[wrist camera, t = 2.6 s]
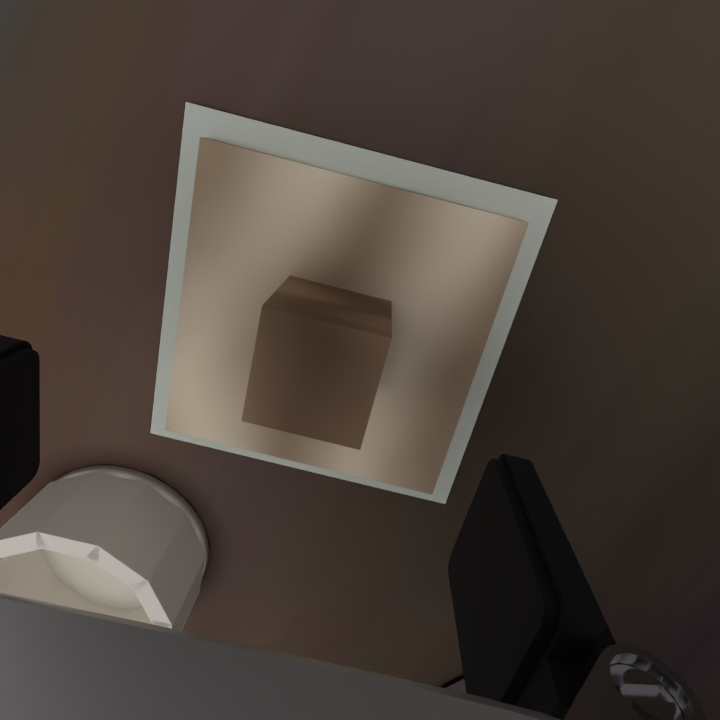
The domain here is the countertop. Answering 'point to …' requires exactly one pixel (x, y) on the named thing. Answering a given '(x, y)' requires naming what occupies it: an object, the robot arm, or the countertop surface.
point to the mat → (369, 168)
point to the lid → (332, 315)
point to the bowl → (107, 547)
